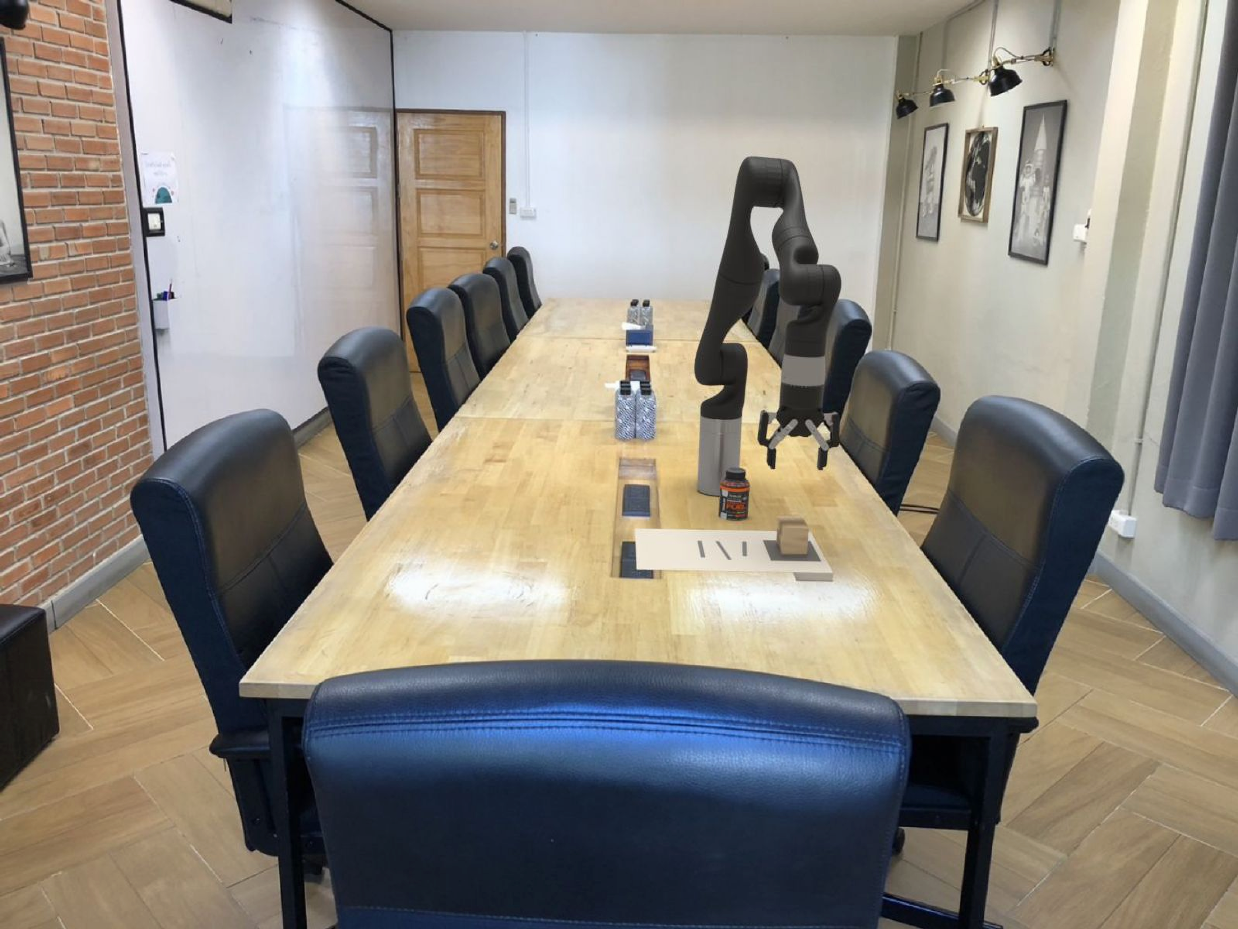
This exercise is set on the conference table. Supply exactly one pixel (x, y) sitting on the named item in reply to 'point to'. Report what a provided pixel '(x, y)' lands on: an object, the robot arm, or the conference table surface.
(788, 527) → the block
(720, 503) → the supplement bottle
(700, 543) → the board
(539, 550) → the conference table surface
